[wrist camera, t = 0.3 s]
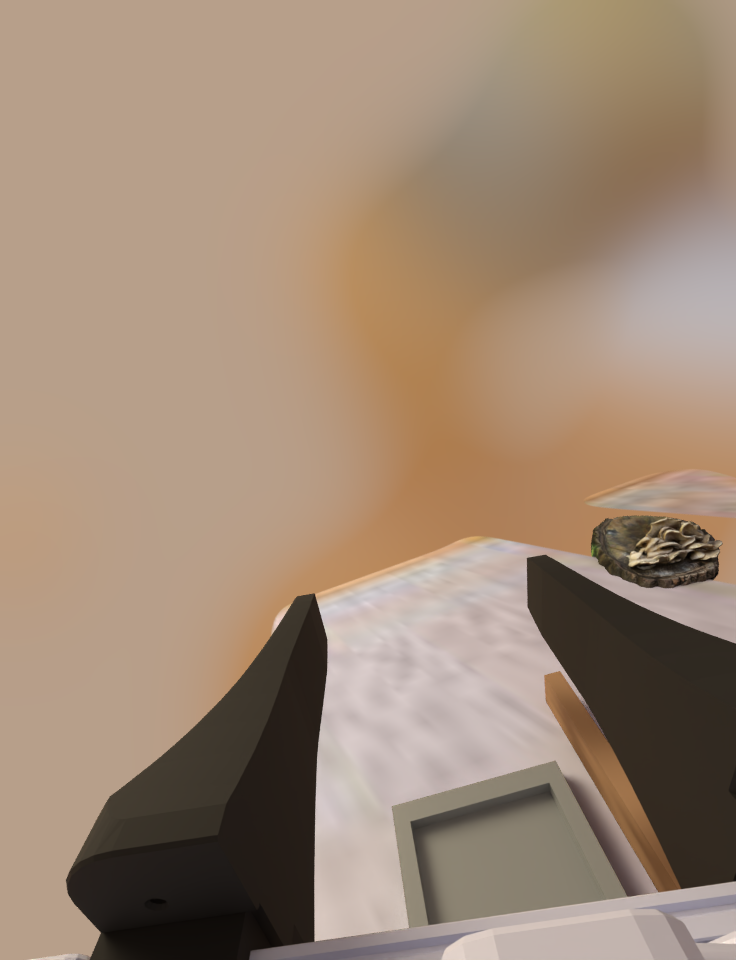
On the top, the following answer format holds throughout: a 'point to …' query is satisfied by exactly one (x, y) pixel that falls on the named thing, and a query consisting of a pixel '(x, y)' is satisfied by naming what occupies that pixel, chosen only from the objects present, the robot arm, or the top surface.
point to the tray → (499, 850)
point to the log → (656, 551)
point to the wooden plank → (609, 779)
